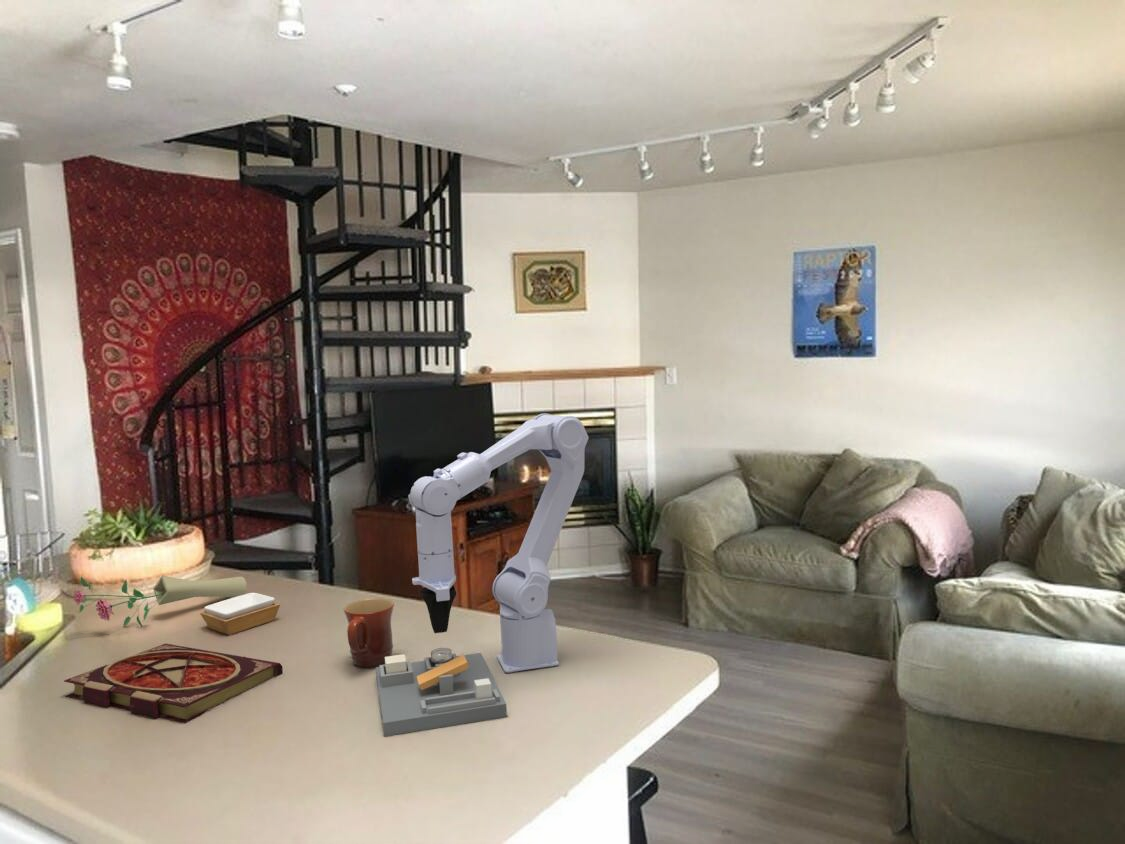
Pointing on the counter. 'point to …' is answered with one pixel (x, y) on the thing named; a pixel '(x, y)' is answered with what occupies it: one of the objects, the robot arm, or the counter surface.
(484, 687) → the slider knob
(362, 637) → the mug
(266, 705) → the counter surface
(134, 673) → the book
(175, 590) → the flower vase
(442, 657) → the button round
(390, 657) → the button square
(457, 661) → the rocker
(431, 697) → the console
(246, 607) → the soap dish
